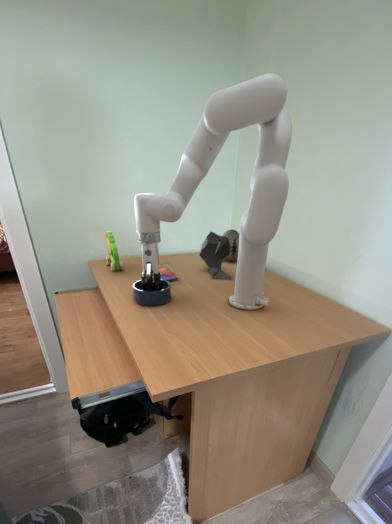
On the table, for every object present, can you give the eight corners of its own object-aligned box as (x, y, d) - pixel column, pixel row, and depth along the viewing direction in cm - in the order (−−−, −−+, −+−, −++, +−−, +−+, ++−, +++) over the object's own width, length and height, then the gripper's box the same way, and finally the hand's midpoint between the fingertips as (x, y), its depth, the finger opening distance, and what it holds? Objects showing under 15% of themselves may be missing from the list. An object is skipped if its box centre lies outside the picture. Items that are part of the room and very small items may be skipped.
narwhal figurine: (229, 268, 140) (232, 227, 130) (231, 279, 127) (235, 235, 117) (199, 267, 140) (200, 226, 130) (198, 278, 127) (200, 234, 117)
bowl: (178, 299, 108) (178, 284, 105) (150, 310, 99) (149, 295, 96) (154, 289, 115) (153, 275, 112) (126, 299, 107) (125, 284, 104)
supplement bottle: (162, 293, 110) (161, 261, 103) (161, 300, 104) (159, 267, 97) (144, 293, 109) (141, 260, 103) (141, 300, 104) (139, 266, 97)
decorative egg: (215, 257, 153) (217, 227, 145) (237, 257, 155) (239, 227, 147) (221, 264, 144) (223, 232, 136) (243, 263, 146) (247, 232, 138)
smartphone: (160, 282, 122) (160, 280, 121) (151, 270, 133) (151, 268, 132) (177, 280, 124) (177, 278, 123) (166, 269, 135) (166, 267, 135)
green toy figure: (124, 271, 132) (120, 235, 124) (112, 272, 130) (107, 236, 122) (116, 261, 144) (112, 228, 136) (105, 262, 142) (100, 229, 134)
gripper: (158, 243, 88) (161, 298, 98) (162, 231, 103) (163, 280, 112) (133, 243, 88) (138, 298, 98) (140, 231, 102) (144, 280, 112)
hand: (152, 288), depth 105 cm, fingers closed on supplement bottle, 6 cm apart
